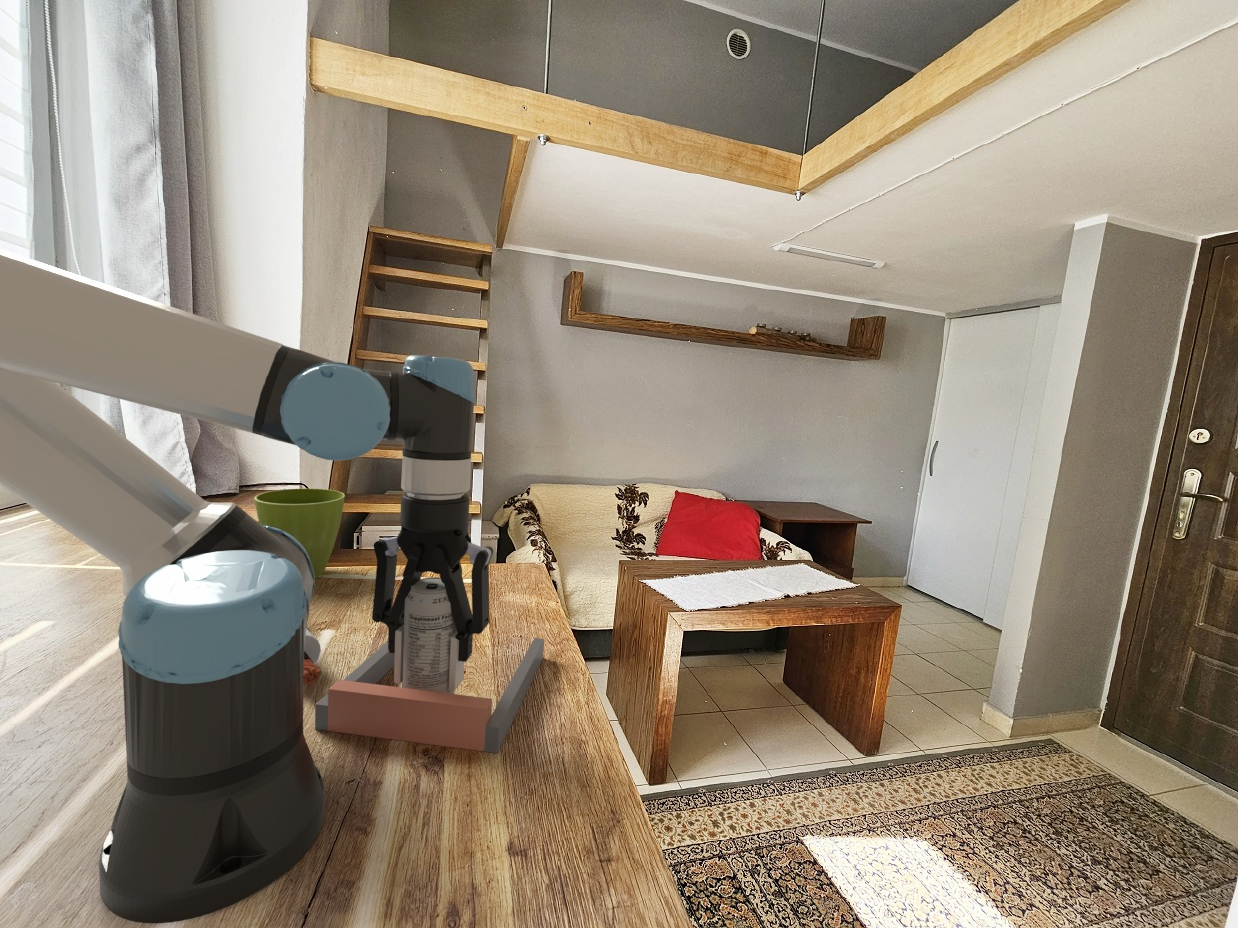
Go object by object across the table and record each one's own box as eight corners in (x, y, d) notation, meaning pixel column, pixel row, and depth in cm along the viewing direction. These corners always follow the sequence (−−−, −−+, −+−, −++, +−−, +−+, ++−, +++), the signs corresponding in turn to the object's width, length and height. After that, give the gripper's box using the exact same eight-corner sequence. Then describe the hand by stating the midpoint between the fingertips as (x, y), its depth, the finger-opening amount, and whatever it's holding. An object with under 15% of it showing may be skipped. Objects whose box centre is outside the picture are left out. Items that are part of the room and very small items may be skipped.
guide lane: (497, 753, 59) (499, 710, 59) (315, 728, 61) (315, 687, 60) (543, 657, 81) (545, 626, 80) (407, 642, 83) (408, 610, 82)
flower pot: (307, 594, 97) (308, 507, 95) (234, 583, 100) (233, 498, 98) (359, 569, 112) (361, 493, 110) (295, 560, 114) (295, 485, 112)
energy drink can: (456, 689, 69) (462, 576, 67) (450, 716, 63) (456, 594, 62) (407, 689, 68) (411, 575, 66) (396, 718, 62) (400, 593, 60)
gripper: (525, 494, 66) (514, 674, 68) (374, 480, 67) (370, 657, 70) (507, 507, 58) (496, 708, 61) (338, 490, 60) (335, 687, 62)
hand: (429, 680), depth 65 cm, fingers closed on energy drink can, 6 cm apart
